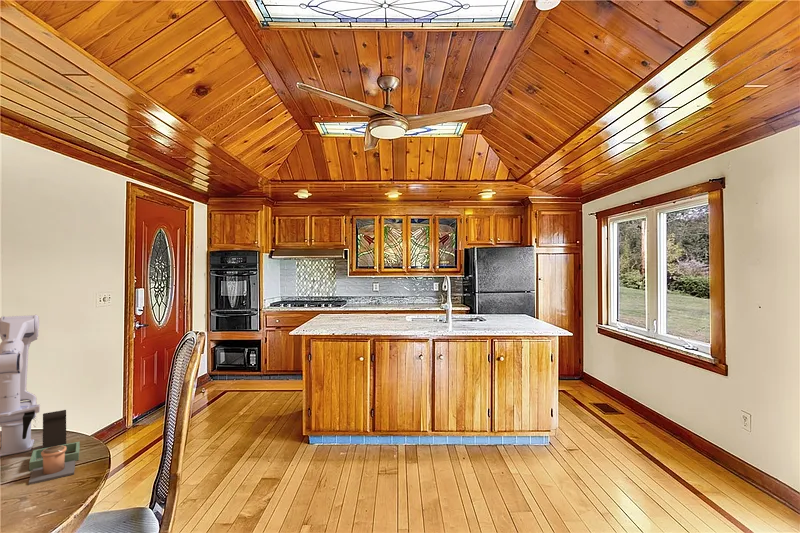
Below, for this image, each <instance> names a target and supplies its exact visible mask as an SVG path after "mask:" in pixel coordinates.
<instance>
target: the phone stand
mask: <svg viewBox="0 0 800 533" xmlns="http://www.w3.org/2000/svg"><path fill="white" fill-rule="evenodd" d="M64 444H67V409H63V410H56V411H49V412H46V413H43V414H42V449H43V448H48V447H53V446H59V445H64Z"/></svg>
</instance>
